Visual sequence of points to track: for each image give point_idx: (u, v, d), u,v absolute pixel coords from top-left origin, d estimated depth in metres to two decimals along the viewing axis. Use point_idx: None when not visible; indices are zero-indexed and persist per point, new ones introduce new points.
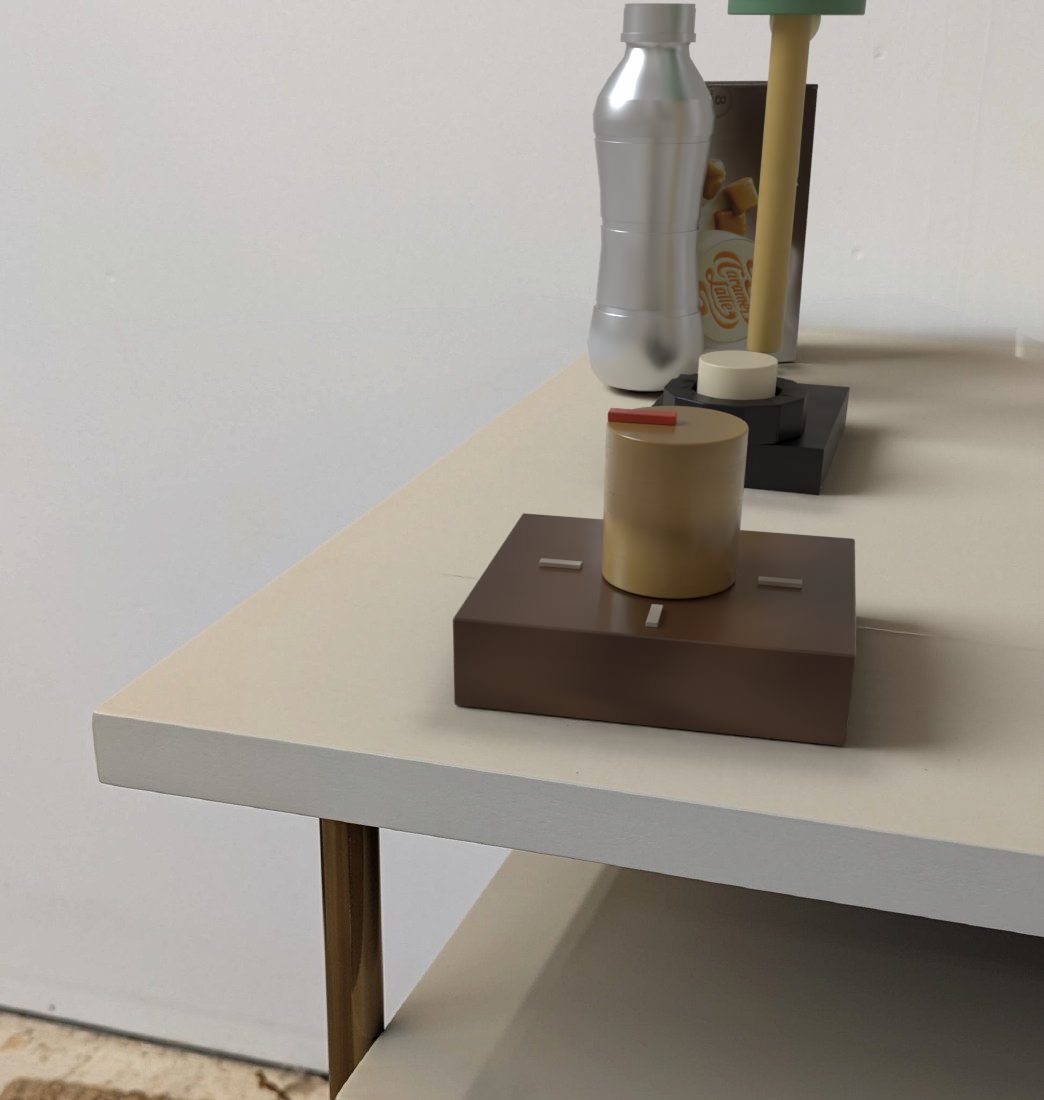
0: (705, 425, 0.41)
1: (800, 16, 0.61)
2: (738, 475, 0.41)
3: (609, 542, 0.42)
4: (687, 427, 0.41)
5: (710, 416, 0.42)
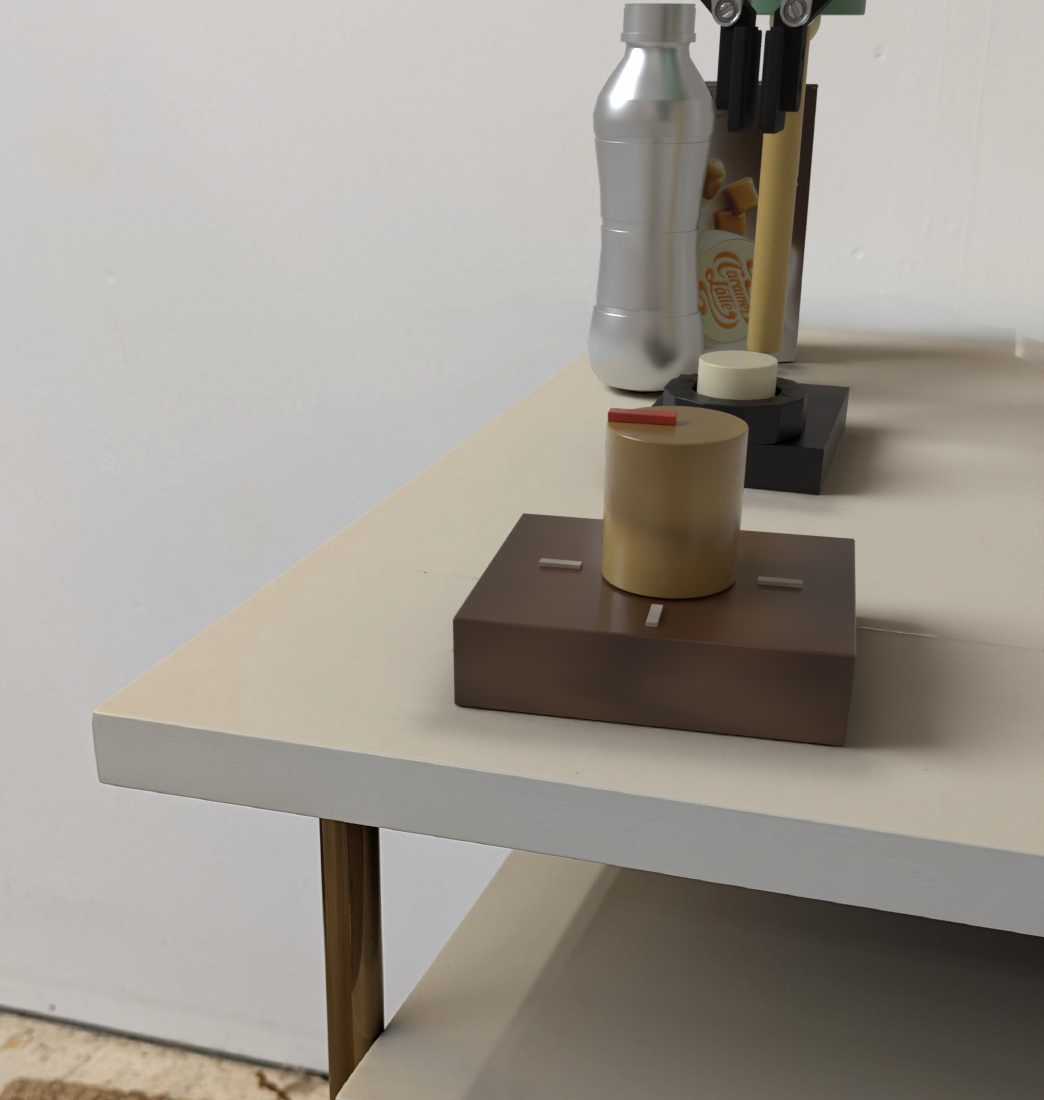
0: (705, 425, 0.41)
1: None
2: (738, 475, 0.41)
3: (609, 542, 0.42)
4: (687, 427, 0.41)
5: (710, 416, 0.42)
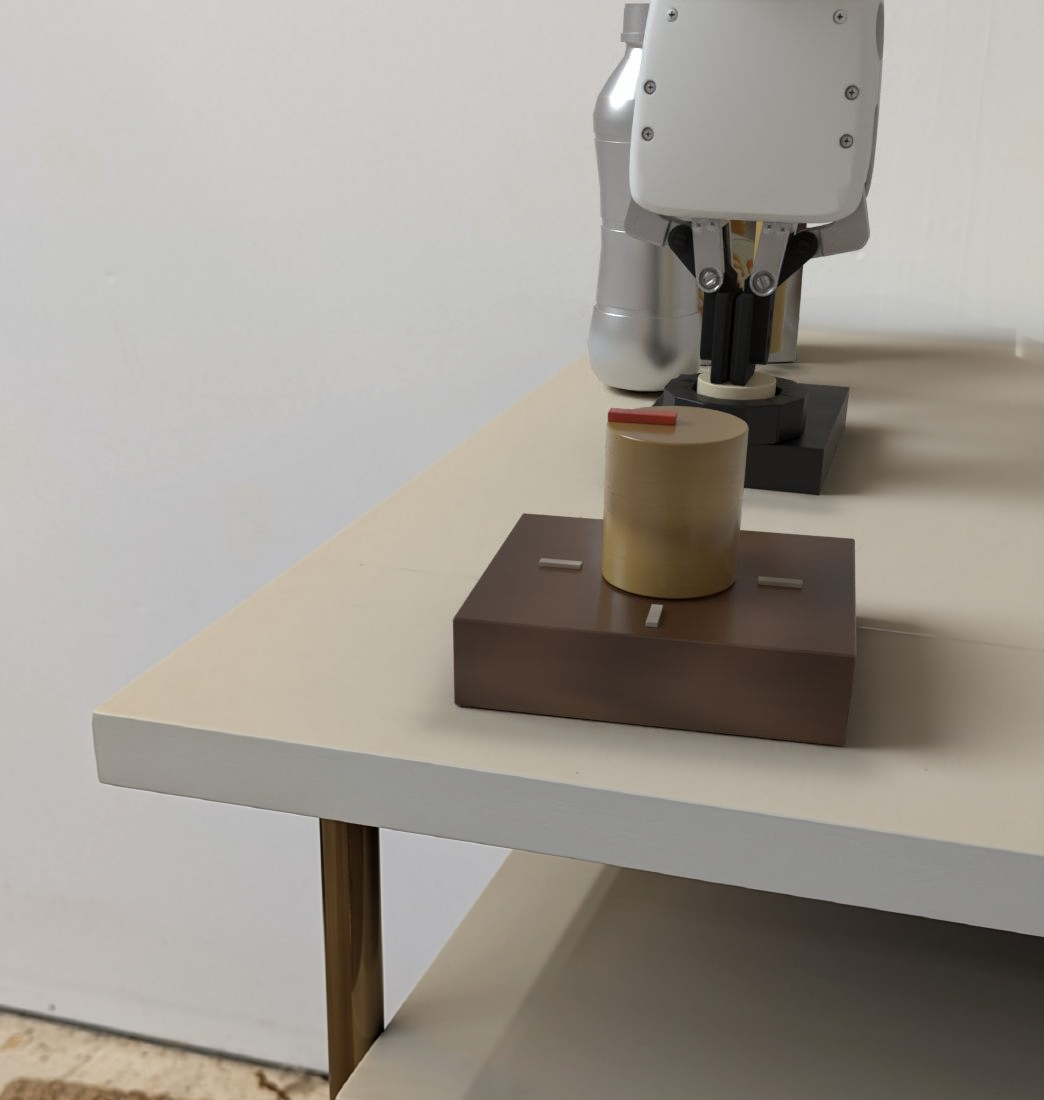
0: (705, 425, 0.41)
1: None
2: (738, 475, 0.41)
3: (609, 542, 0.42)
4: (687, 427, 0.41)
5: (710, 416, 0.42)
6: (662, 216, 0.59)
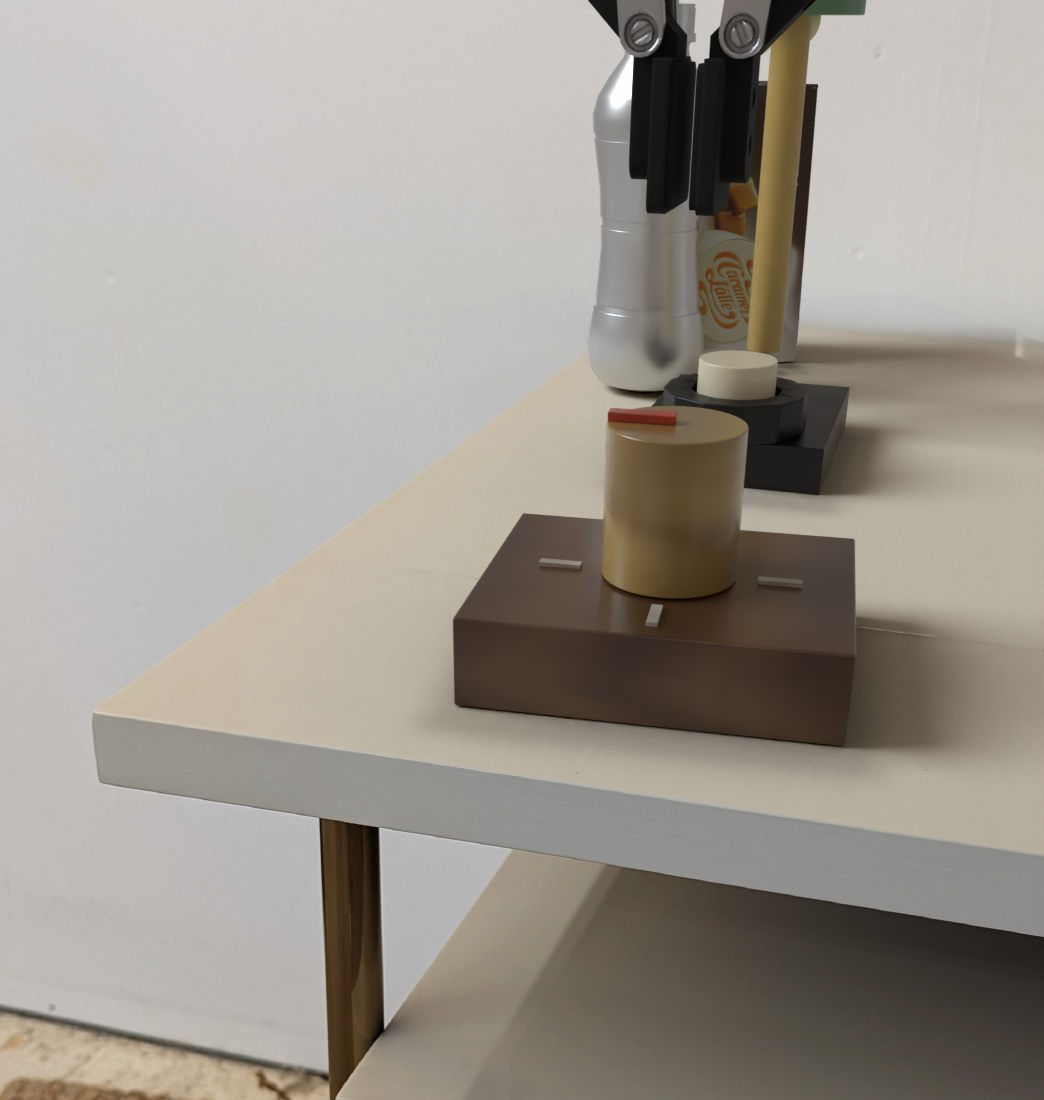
0: (705, 425, 0.41)
1: (800, 16, 0.61)
2: (738, 475, 0.41)
3: (609, 542, 0.42)
4: (687, 427, 0.41)
5: (710, 416, 0.42)
6: None
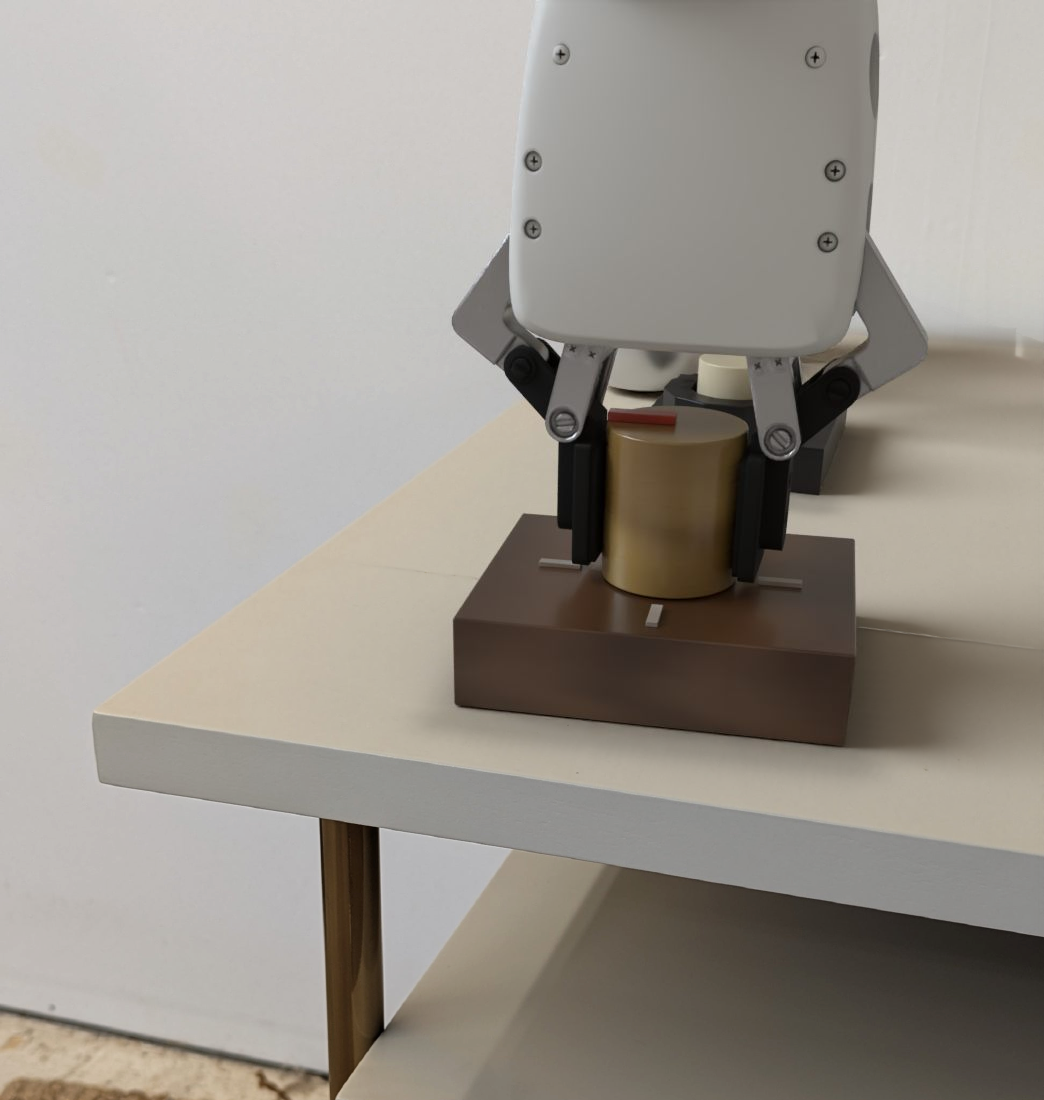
0: (705, 425, 0.41)
1: None
2: (738, 475, 0.41)
3: (609, 542, 0.42)
4: (687, 427, 0.41)
5: (710, 416, 0.42)
6: (507, 326, 0.41)
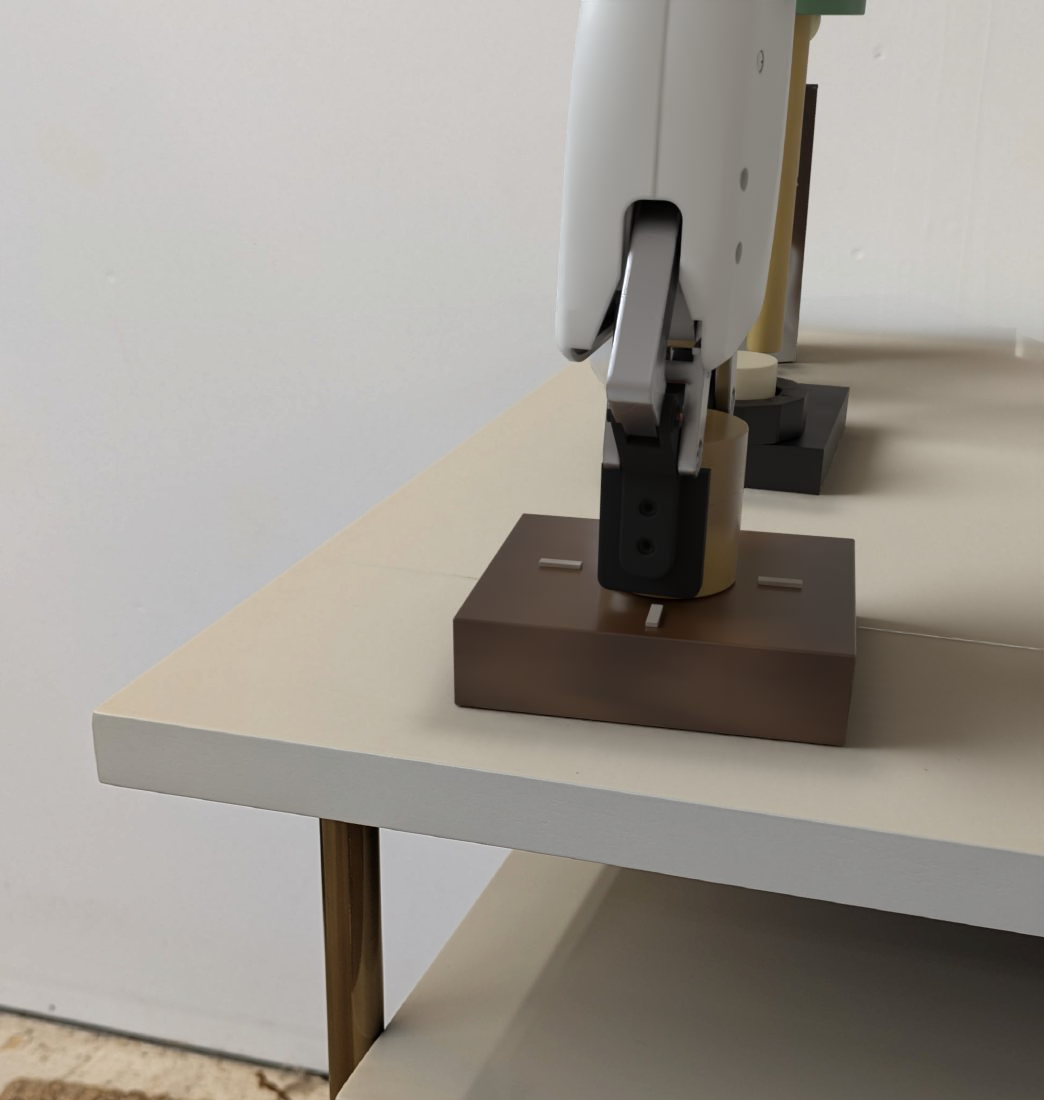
0: None
1: (800, 16, 0.61)
2: None
3: (705, 555, 0.41)
4: None
5: None
6: None
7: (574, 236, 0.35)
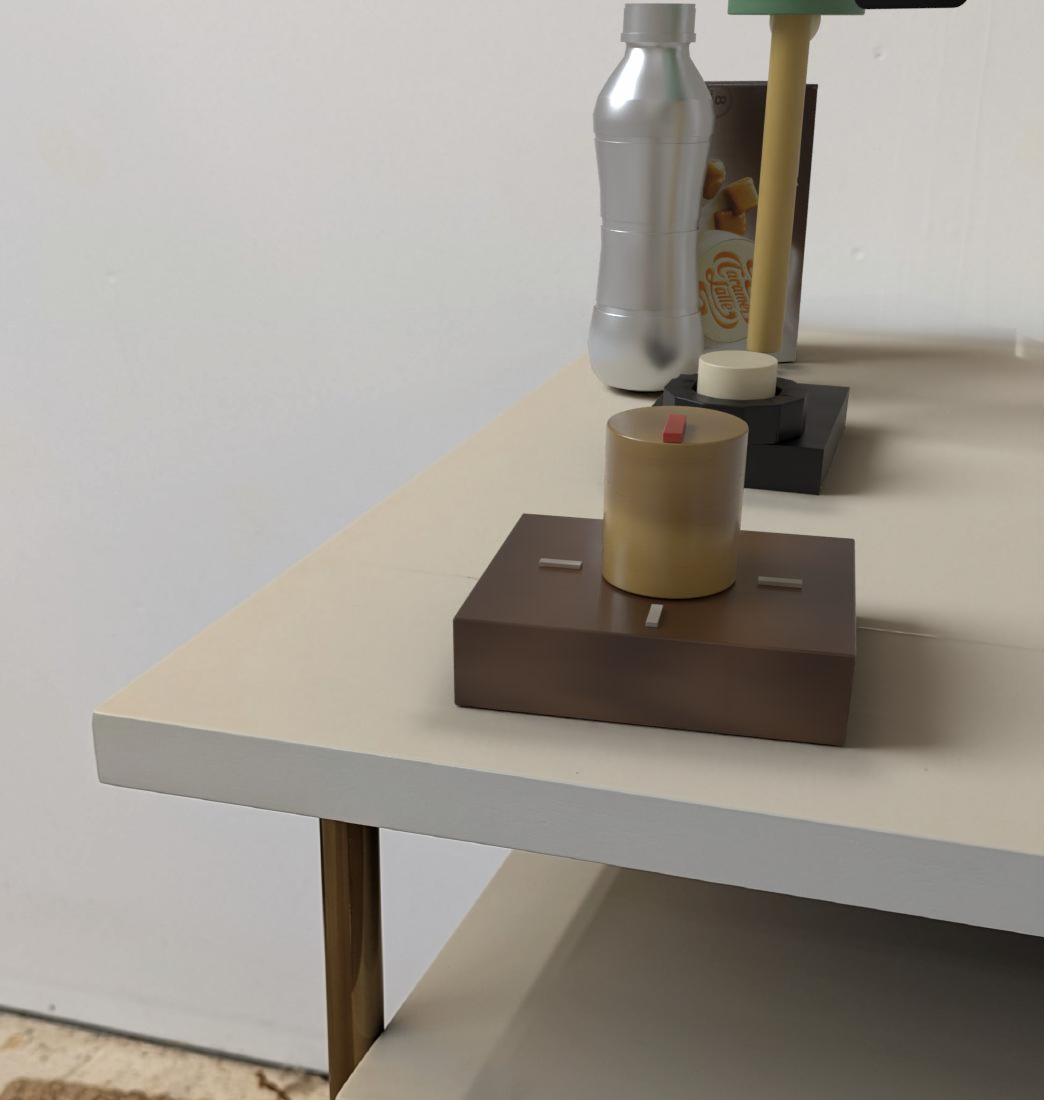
0: None
1: (800, 16, 0.61)
2: None
3: (707, 555, 0.41)
4: (688, 421, 0.42)
5: (646, 413, 0.42)
6: None
7: None
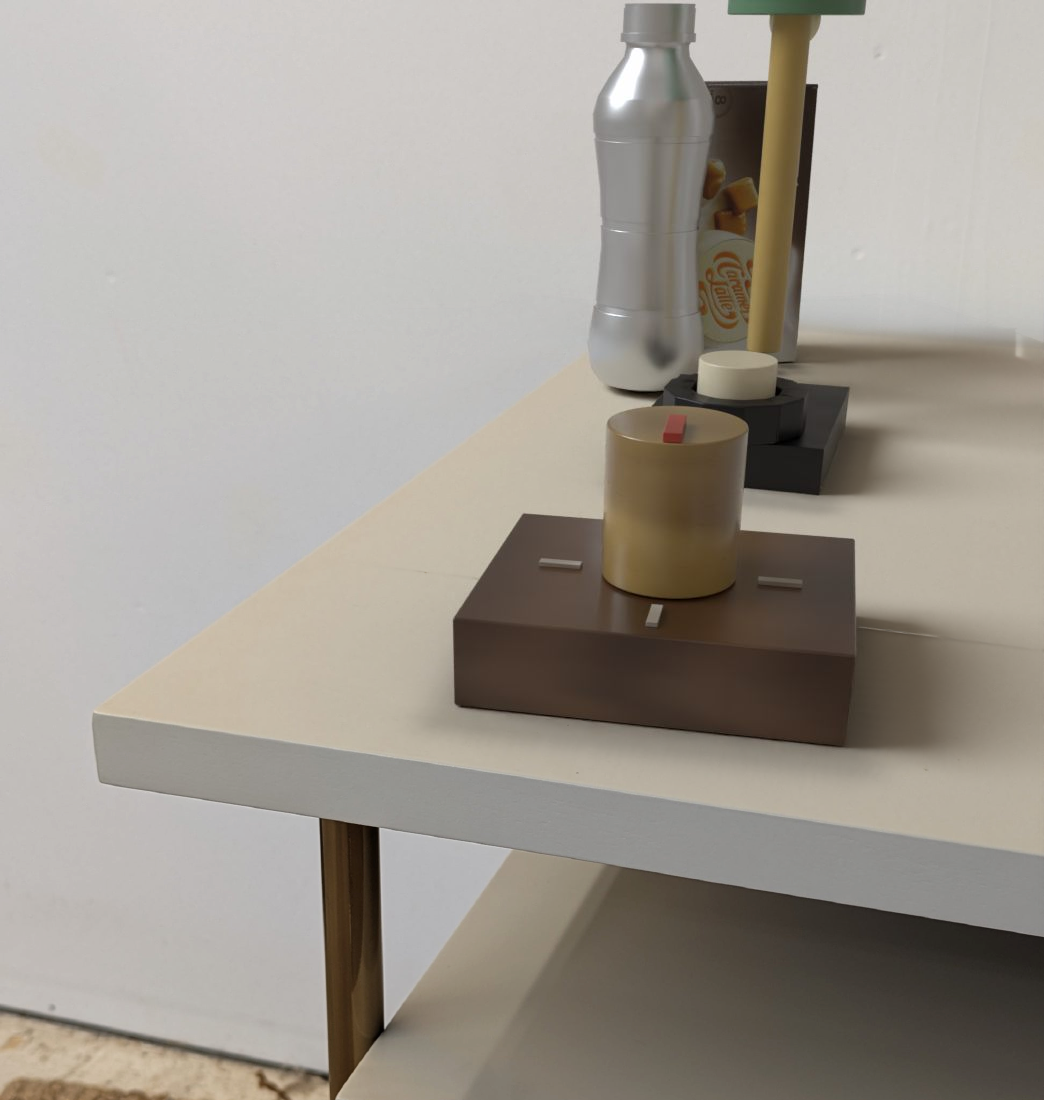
0: None
1: (800, 16, 0.61)
2: None
3: (707, 555, 0.41)
4: (688, 421, 0.42)
5: (646, 413, 0.42)
6: None
7: None
